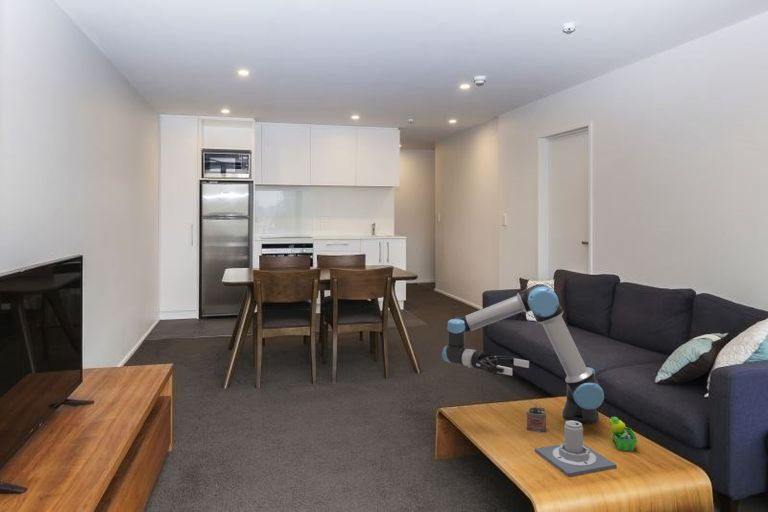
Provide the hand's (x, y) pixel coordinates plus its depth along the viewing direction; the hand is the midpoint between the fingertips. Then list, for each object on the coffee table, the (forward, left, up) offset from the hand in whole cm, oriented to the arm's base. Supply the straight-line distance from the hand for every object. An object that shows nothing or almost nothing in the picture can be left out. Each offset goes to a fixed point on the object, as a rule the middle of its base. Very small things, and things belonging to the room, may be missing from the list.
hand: (520, 368), depth 192 cm
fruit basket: (-35, +15, -30) cm, 49 cm away
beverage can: (-10, +19, -29) cm, 36 cm away
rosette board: (-10, +19, -30) cm, 37 cm away
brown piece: (-12, -8, -30) cm, 34 cm away
